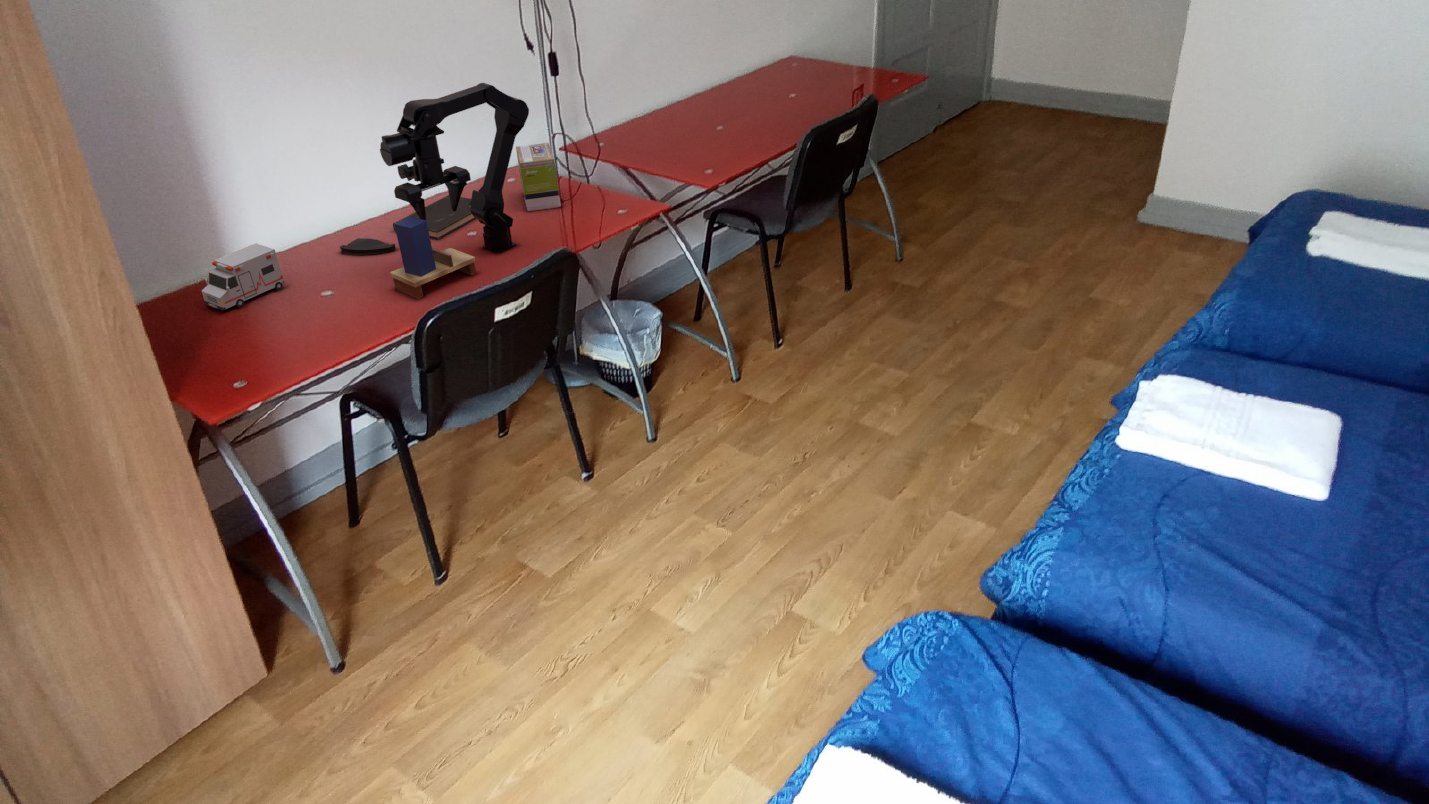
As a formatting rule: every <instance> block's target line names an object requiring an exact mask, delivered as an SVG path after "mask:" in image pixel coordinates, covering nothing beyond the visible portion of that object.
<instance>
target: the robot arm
mask: <svg viewBox="0 0 1429 804" xmlns="http://www.w3.org/2000/svg"><path fill="white" fill-rule="evenodd" d="M484 104H487V105H488V106H490V107H491V108H493V109H494V117H493V118H494V123H495V128H496V132H495V135H494V140H493V143H492V148H491V150H490V151H491V152H490V156H489V160H488V164H487V168H486V172H485V176H484V179H483V184H482V186H480V188H479V189H478V190H476V189H473V191H472V193H471V198H470V199H471V202H470V203H469V205H470V206H471V208H470V211H471V213H472V215H473V216H474V217H475V218H476V219H475V220H477V221H478V222H479V224H482V225H484V226H482V230H483V233H482V238H483V243H484V244H483V245H482V248H483V249H485V250H487V251H491V252H494V253H496V254H500V253H502V252H504V251H507V250H509V249H511V248H514V247H516V246H517V243H516V242H514V241H513V239H512V232H511V228H512V227H513V223H514V218H513V217H511V216H510V215H508V214H507V213H505V212H504V211H505V202H504V195H503V188H504V184H505V180H506V176H507V172H508V168H509V164H510V160H511V157H512V152H513V148H514V144H515V140H516V137H517V136H518V134H519V133H520V132H521V131H522V129H524V127H525V124H526V122H527V120H528V117H529V114H530V108H529V106H528V104H527V102H525V101H524V100H523V99H521V98H517V97H514V96H511V95H508V94H506V93H505V92H503V91H501V90H499V89H498V88H496V87H495V86H494V85H492V84H489V83H486V82H479V83H478V84H476V85H474V86H471V87H468V88H465V89H462V90H459V91H456V92H453V93H450V94H447V95H445V96H441V97H438V98H422V99H412V100H409V101H408V102H406V103H405V104H404V107H403V110H402V116H401V119H400V121H399V124H398V126H397V128H396V132H397V133H394V134H386V135H382V136H381V142H380V148H379V153H380V156H381V158H382V160H383V162H384V164H386V165H387V166H388V167H392V166H396V165H398V166H397V173H398V177H399V178H400V179H401V180H404V179H406V180H407V181H408V182H404V183H402V184H399V185H396V186H395V188H394V190H393V193H394V197H395V199H397V200H401V201H403V202H407V203H409V204H410V206H411V208H412V209H413V210H414V212H416V213H417V215H418V216H419V218H420V219H421V220H426V212H425V207H426V204H425V198H423V197H422V196H423V192H424V191H428V190H430V189H434V188H436V187H439V186H442V185H445V187H446V189H447V191H448V195H449V198H450V203H451V207H452V210H453V211H456V210H457V207H458V203H459V200H460V197H462V194H463V191H464V189H465V187H466V186H468V182H470V181H472V179H471V173H470V171H469V170H468V169H467V168H464V167H460V166H458V165H453V166H451V167H448V168H445V169H444V170H443V165H442V164H445V158H441V154H440V150H439V144H438V140H437V139H438V138H437V136H439V135H443V134H445V130H443V129H441V128H440V127H439V126H438V125H440V124H441V123H442V122H443V121H444V120H445V118H447V117H449V116H452V115H455V114H458V113H461V112H463V111H466V110H470V109H472V108H475V107H477V106H480V105H484ZM411 126H413V127H414V128H412V127H411ZM414 158H415V159H414ZM410 161H412V165H410V166H408V164H407V162H410ZM403 163H404V164H403ZM399 164H401V165H399ZM412 180H414V182H420V183H417V184H414V183H412V182H410V181H412Z"/></svg>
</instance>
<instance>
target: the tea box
mask: <svg viewBox="0 0 1429 804" xmlns="http://www.w3.org/2000/svg"><path fill="white" fill-rule="evenodd" d="M515 150H516V157H517V163H518V169H519V170H518V171H519V175H520V181H521V187H522V192H523V198H524V199H523V200H524V203H525V207H526V212H534V211H542V210H550V209H555V208H556V209H557V208H562V207H561V206H562V203H561V197H560V190H559V189H560V188H559V181H558V174H557V167H556V161H555V157H554V154H553V152H552V148H551V145H550V143H549V142H542V143H534V144H528V145H519V146H517V145H516V147H515Z"/></svg>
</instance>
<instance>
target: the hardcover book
mask: <svg viewBox="0 0 1429 804" xmlns="http://www.w3.org/2000/svg"><path fill="white" fill-rule="evenodd" d="M471 199H472V198H468V197H463V196H461V197H460V200H459V203H458V207H457V210H456V211H453V210H452V207H451V203H450V198H449V194H447V195H446V196H443V197H441V198H440V199H438V200H436V201H434V202H432V203H430V204H428V205H425V212H426V221H427V226H428V231H429V236H430V239H435V240H440V239H442V238H444V237H445V236H447V235H449V234H451V233H453V232H454V231H456V230H458V229H460V228H462V227H463V226H465V225H467V224H469V223H471V222H472V221H474V220H477V219H476V218H475V217H474V216H473V215H472V213H471V211H470V208H471V206H470V205H469V203H470V202H471ZM408 217H413V218H417V219H420V218H419V216H418V215H417V213H416V211H414V212H413V213H411V214H408V215H407V216H405V217H403V218H401V219H399V220H397V221H395V222H393V223H392V228H393V230H394V231H395V232H396V230H395V225H394V224H395V223H397V222H400V221H402V220H404V219H406V218H408Z"/></svg>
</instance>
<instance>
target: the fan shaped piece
mask: <svg viewBox="0 0 1429 804" xmlns="http://www.w3.org/2000/svg"><path fill="white" fill-rule="evenodd" d="M339 249H340V252H341V254H346V255H352V256H370V255H378V254H385V253H388V252H389V253H390V252H394V251H396V250H397V248H396V242H395V243H385V242H384V241H381V240H379V239H375V238H359V237H357V238H355V239H354V240H352V241H351V242H349V243H347V245H345V244H342V245H340V246H339Z"/></svg>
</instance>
